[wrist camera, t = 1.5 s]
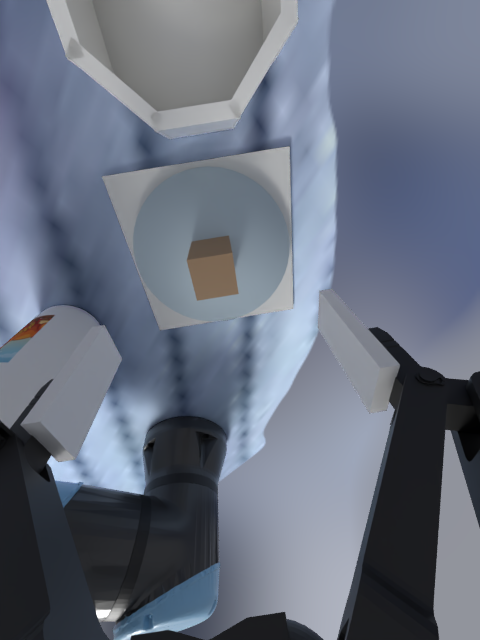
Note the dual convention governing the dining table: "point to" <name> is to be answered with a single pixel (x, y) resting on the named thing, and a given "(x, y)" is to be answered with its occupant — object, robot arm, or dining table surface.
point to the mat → (259, 166)
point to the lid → (211, 244)
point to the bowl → (177, 55)
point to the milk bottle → (38, 356)
